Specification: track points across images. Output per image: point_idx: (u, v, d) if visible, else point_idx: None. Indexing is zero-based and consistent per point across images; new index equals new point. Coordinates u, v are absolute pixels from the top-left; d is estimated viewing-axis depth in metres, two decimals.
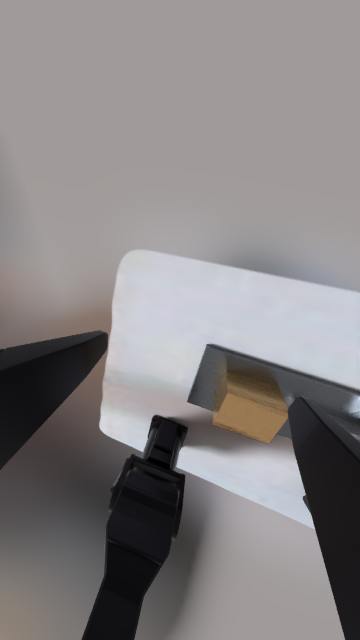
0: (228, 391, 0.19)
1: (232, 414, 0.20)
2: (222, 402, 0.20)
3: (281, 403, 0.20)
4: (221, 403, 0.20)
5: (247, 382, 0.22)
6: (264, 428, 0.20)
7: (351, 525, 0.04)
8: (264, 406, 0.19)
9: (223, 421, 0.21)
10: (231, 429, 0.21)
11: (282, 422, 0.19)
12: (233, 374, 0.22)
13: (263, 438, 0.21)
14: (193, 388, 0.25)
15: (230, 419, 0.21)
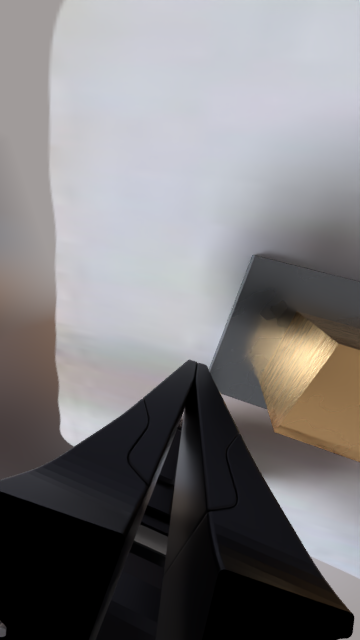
0: (336, 340, 0.07)
1: (337, 407, 0.08)
2: (311, 375, 0.08)
3: None
4: (306, 378, 0.08)
5: (356, 331, 0.09)
6: None
7: (185, 460, 0.05)
8: None
9: (305, 425, 0.08)
10: (323, 445, 0.09)
11: None
12: (316, 318, 0.10)
13: None
14: (218, 359, 0.13)
15: (327, 421, 0.08)
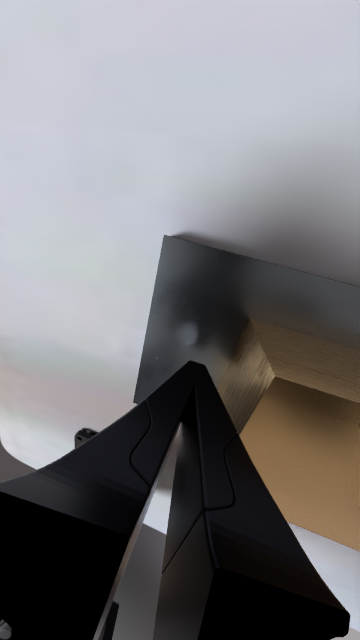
0: (274, 368, 0.04)
1: (285, 466, 0.05)
2: (245, 418, 0.05)
3: None
4: (241, 421, 0.05)
5: (324, 347, 0.07)
6: None
7: (183, 459, 0.05)
8: None
9: None
10: None
11: None
12: (272, 327, 0.07)
13: None
14: (143, 368, 0.10)
15: (274, 483, 0.05)
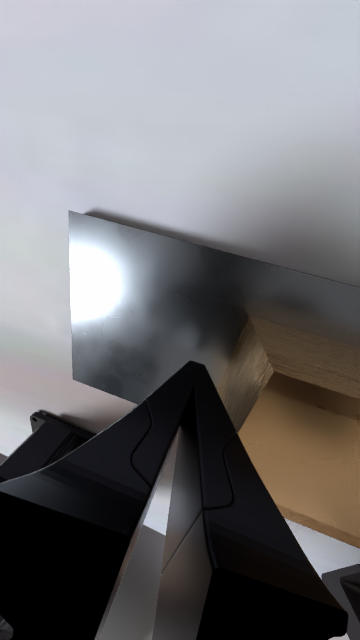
0: (273, 364, 0.04)
1: (284, 462, 0.05)
2: (245, 414, 0.05)
3: None
4: (240, 417, 0.05)
5: (323, 344, 0.07)
6: None
7: (182, 459, 0.05)
8: None
9: None
10: None
11: None
12: (272, 325, 0.07)
13: None
14: (75, 344, 0.11)
15: (273, 479, 0.05)
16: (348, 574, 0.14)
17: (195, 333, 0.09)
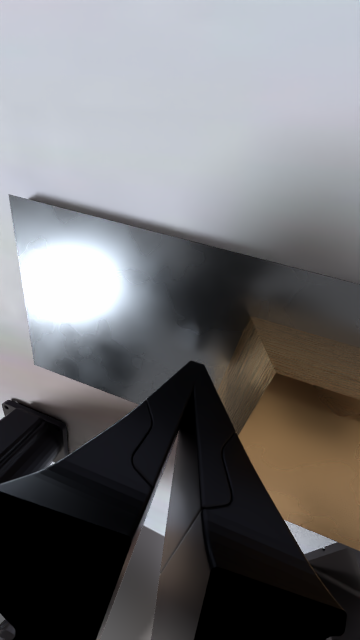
0: (276, 365, 0.04)
1: (286, 464, 0.05)
2: (246, 415, 0.05)
3: None
4: (241, 419, 0.05)
5: (326, 345, 0.06)
6: None
7: (182, 459, 0.05)
8: None
9: None
10: None
11: None
12: (273, 325, 0.07)
13: None
14: (32, 329, 0.11)
15: (275, 482, 0.05)
16: (312, 559, 0.14)
17: (137, 314, 0.09)
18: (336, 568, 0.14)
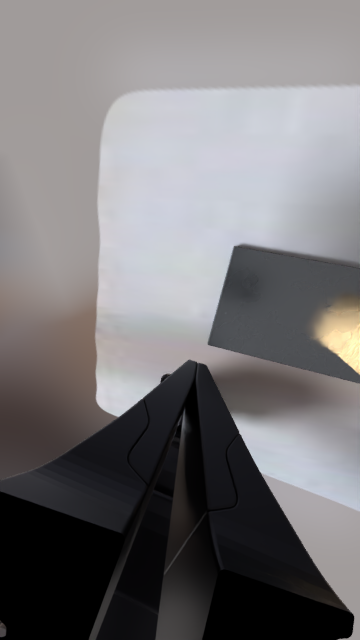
0: None
1: None
2: None
3: None
4: None
5: None
6: None
7: (185, 460, 0.05)
8: None
9: None
10: None
11: None
12: None
13: None
14: (216, 321, 0.18)
15: None
16: None
17: (299, 306, 0.16)
18: None
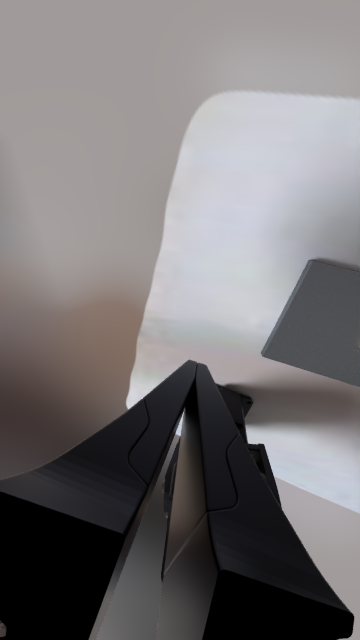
0: None
1: None
2: None
3: None
4: None
5: None
6: None
7: (185, 460, 0.05)
8: None
9: None
10: None
11: None
12: None
13: None
14: (277, 333, 0.18)
15: None
16: None
17: None
18: None
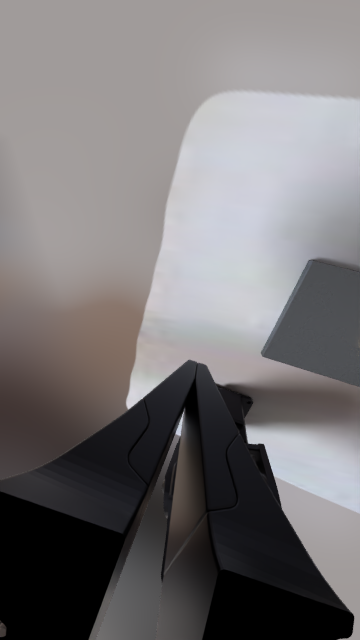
0: None
1: None
2: None
3: None
4: None
5: None
6: None
7: (185, 460, 0.05)
8: None
9: None
10: None
11: None
12: None
13: None
14: (277, 333, 0.18)
15: None
16: None
17: None
18: None
